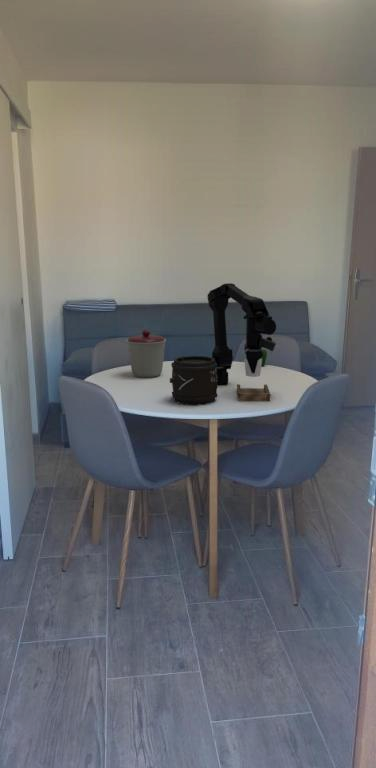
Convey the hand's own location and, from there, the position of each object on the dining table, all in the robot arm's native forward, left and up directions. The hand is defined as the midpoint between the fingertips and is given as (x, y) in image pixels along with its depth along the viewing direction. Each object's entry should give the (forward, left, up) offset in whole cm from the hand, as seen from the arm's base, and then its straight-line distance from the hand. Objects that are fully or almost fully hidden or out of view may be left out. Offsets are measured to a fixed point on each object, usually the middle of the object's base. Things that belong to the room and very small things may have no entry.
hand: (252, 371), depth 230 cm
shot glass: (0, 0, -2) cm, 2 cm away
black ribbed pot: (-23, -8, -10) cm, 26 cm away
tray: (0, -2, -9) cm, 10 cm away
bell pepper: (+6, +60, -10) cm, 61 cm away
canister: (-46, +36, -10) cm, 59 cm away
